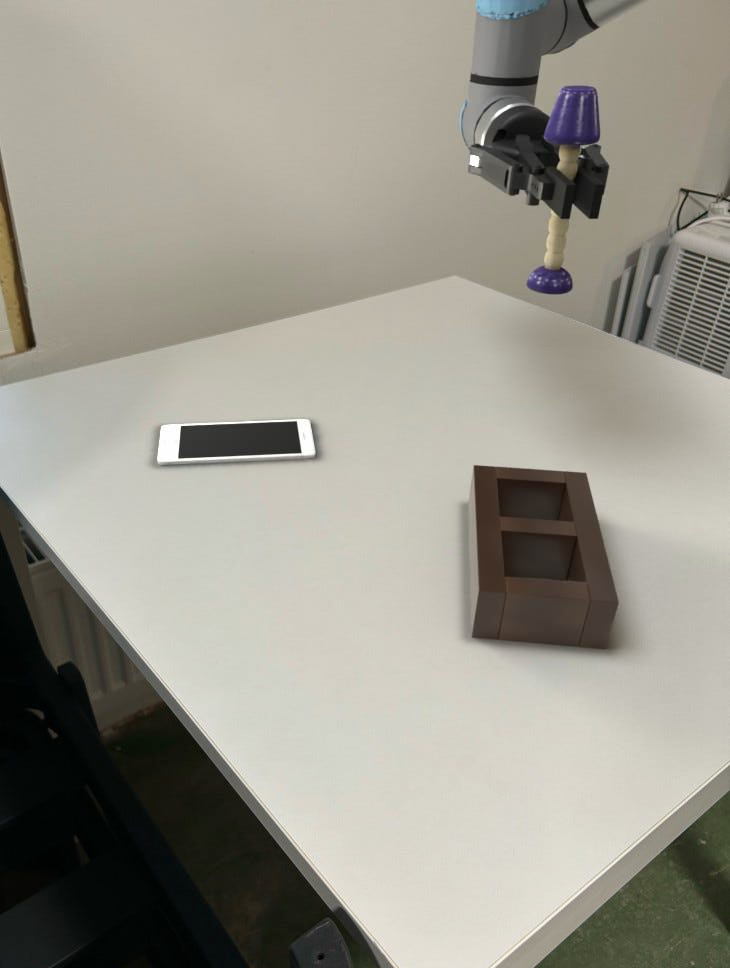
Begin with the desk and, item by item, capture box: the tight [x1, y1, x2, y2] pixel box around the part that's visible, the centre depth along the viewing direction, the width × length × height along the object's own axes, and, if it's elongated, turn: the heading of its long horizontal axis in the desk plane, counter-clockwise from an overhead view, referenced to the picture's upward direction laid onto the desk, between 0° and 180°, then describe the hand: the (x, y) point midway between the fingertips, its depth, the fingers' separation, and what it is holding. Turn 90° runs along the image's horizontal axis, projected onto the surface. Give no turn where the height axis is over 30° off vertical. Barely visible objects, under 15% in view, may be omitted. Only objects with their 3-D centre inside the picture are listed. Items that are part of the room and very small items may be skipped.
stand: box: [467, 464, 620, 650], centre depth 68 cm, size 10×18×5 cm, turn 173°
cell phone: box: [156, 418, 317, 466], centre depth 87 cm, size 8×16×1 cm, turn 96°
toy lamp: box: [526, 85, 601, 295], centre depth 73 cm, size 5×5×17 cm
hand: (582, 201), depth 68 cm, fingers closed on toy lamp, 2 cm apart
